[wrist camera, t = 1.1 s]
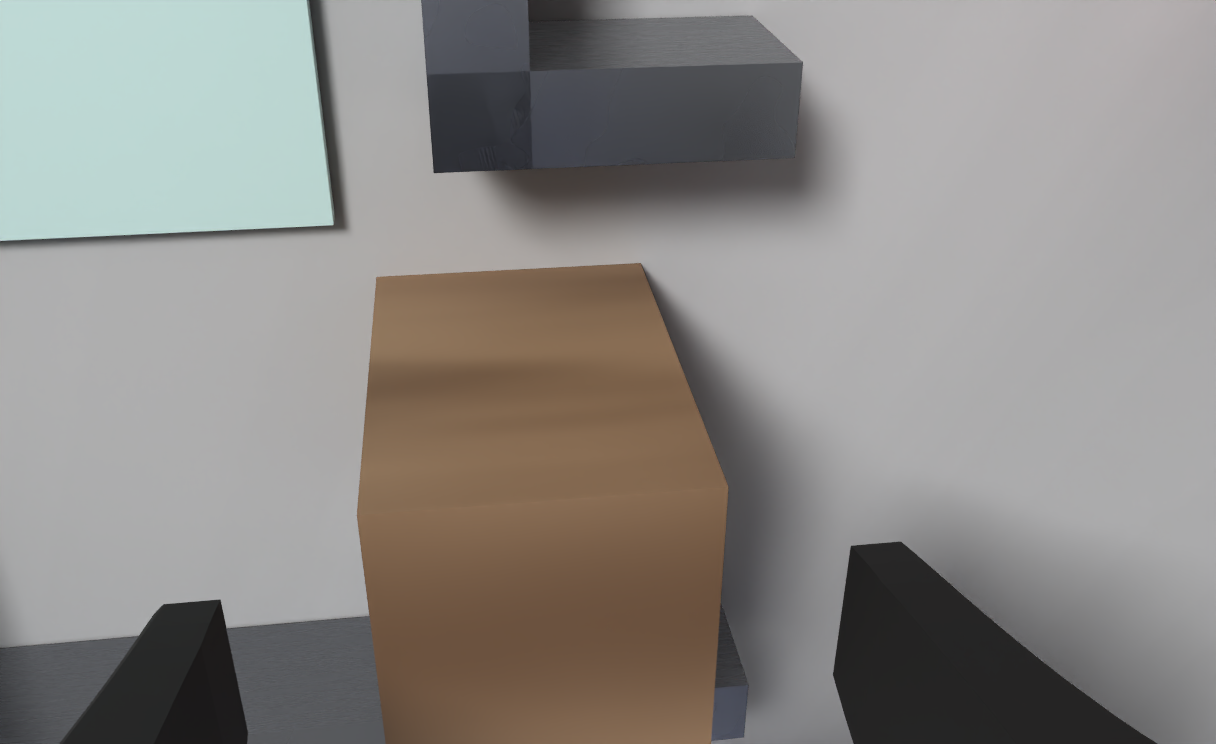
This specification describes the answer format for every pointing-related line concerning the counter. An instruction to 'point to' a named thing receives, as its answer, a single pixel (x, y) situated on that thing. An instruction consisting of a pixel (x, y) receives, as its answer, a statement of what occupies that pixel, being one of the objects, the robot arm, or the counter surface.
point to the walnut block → (537, 513)
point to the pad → (159, 118)
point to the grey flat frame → (485, 141)
